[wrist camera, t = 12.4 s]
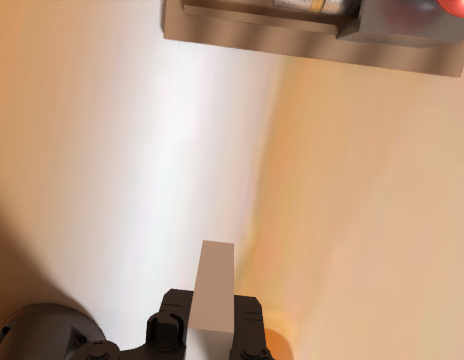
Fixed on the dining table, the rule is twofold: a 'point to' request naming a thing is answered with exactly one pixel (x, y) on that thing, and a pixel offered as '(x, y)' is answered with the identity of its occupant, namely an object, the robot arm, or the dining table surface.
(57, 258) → the dining table surface
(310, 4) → the pipe
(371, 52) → the board
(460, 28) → the gate valve
